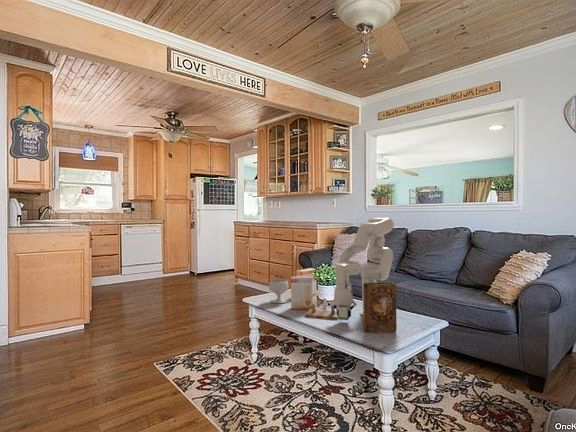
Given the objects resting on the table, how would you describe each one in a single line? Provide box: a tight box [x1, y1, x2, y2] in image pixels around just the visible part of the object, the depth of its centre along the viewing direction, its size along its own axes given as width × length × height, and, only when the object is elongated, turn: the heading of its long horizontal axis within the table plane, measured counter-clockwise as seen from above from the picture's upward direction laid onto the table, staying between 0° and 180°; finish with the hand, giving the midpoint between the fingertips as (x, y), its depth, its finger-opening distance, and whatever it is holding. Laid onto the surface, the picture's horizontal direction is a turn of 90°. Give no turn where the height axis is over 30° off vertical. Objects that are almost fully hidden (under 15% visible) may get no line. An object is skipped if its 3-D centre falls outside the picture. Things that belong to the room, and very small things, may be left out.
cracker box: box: [290, 275, 314, 311], centre depth 230 cm, size 14×6×21 cm, turn 84°
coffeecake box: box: [295, 267, 318, 296], centre depth 268 cm, size 15×7×20 cm, turn 130°
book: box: [363, 282, 398, 334], centre depth 185 cm, size 16×6×25 cm, turn 92°
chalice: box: [268, 278, 290, 304], centre depth 249 cm, size 14×14×15 cm
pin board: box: [304, 303, 339, 321], centre depth 214 cm, size 20×12×6 cm, turn 70°
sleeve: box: [338, 305, 350, 321], centre depth 200 cm, size 5×5×7 cm
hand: (344, 316), depth 200 cm, fingers closed on sleeve, 5 cm apart
